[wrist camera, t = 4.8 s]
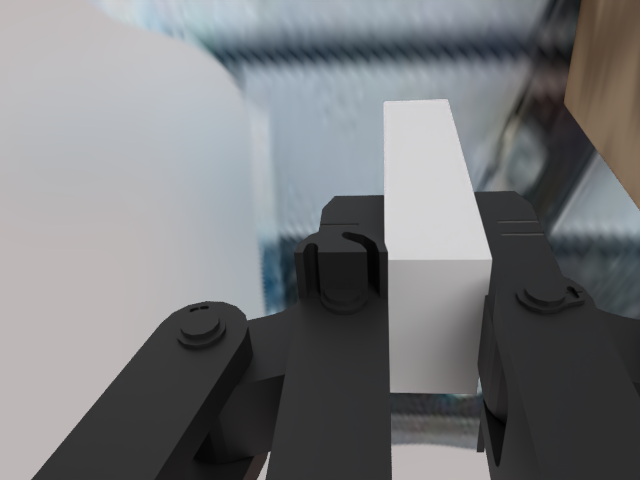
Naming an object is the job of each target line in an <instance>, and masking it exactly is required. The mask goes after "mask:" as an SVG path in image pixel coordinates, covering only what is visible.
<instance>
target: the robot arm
mask: <svg viewBox="0 0 640 480" xmlns="http://www.w3.org/2000/svg"><path fill="white" fill-rule="evenodd" d="M294 256H295V265H296V274H297V283H298V292H299V301H298V302H297V303H296V304H295V305H293V306H292V307H290V308H288V309H286V310H284V311H282V312H279V313H276V314H273V315H270V316H266V317H261V318H257V319H252V320H248V321H247V319H246V315H245V314H244V313H243V312H242V311H241V310H239V308H237V307H236V306H233V305H230V304H228V303H224V302H210V301H206V302H201V303H196V304H192V305H188V306H186V307H184V308H182V309H180V310H178V311H176V312H174V313H172V314H171V315H170V316H169V317H168V318H167V319H166V320H164V321H163V322H162V323H161V324H160V325H159V327H158V328H157V329H156V330H155V331H154V333H153V334H152V335H151V336H150V337H149V339H148V340H147V341H146V342H145V343H144V345H143V346H142V347H141V348H140V349H139V351H138V352H137V353H136V354H135V355H134V357H133V358H132V359H131V361H129V363H128V364H127V365H126V366H125V368H124V369H123V370H122V371H121V372H120V374H119V375H118V376H117V377H116V378H115V380H114V381H113V382H112V383H111V384H110V386H109V387H108V388H107V389H106V390H105V392H104V393H103V394H102V395H101V397H100V398H99V399H98V400H97V401H96V403H95V404H94V405H93V406H92V407H91V409H90V410H89V411H88V412H87V413H86V414H85V416H84V417H83V418H82V419H81V421H80V422H79V423H78V424H77V425H76V427H75V428H74V429H73V430H72V431H71V433H70V434H69V435H68V436H67V438H66V439H65V440H64V441H63V442H62V443H61V445H60V446H59V447H58V448H57V450H56V451H55V452H54V453H53V454H52V455H51V457H50V458H49V459H48V460H47V461H46V463H45V464H44V465H43V466H42V468H41V469H40V470H39V471H38V472H37V474H36V475H35V476H34V477H33V478H32V479H31V480H257V478H258V476H259V474H260V471H261V470H262V468H263V465H264V463H265V461H266V459H267V455H268V452H270V451H271V454H270V459H269V464H268V469H267V475H266V480H392V465H391V463H392V462H391V411H390V392H396V393H442V394H477V387H478V379H479V376H480V382H481V387H482V392H483V402H482V410H481V418H480V426H479V434H478V443H477V452H484V447H485V449H486V455H487V460H488V466H489V472H490V478H491V480H640V320H637V319H632V318H627V317H623V316H619V315H615V314H612V313H608V312H605V311H602V310H600V309H598V308H597V307H596V305H595V303H594V301H593V299H592V298H591V296H590V295H589V294H588V293H587V291H586V290H585V289H584V288H583V287H582V286H580V285H578V284H577V283H575V282H574V281H572V280H570V279H569V278H565V277H563V275H562V273H561V270H560V268H559V266H558V263H557V261H556V259H555V257H554V254H553V252H552V250H551V247H550V245H549V243H548V241H547V238H546V236H545V235H544V231H543V229H542V227H541V225H540V223H538V218H537V215H536V213H535V211H534V209H533V206H532V204H531V203H529V202H528V201H527V200H525V199H524V198H523V197H522V196H520V195H519V194H518V193H516V192H515V191H501V192H473V188H472V185H471V181H470V178H469V174H468V170H467V167H466V163H465V160H464V156H463V152H462V149H461V145H460V142H459V138H458V134H457V131H456V127H455V124H454V120H453V116H452V113H451V109H450V106H449V102H448V99H436V100H407V101H384V195H369V196H334V198H333V199H332V200H331V201H330V202H329V203H328V204H327V205H326V206H325V207H324V208H323V209H322V215H321V221H320V227H319V232H317V233H314V234H311V235H310V236H308V237H307V238H306V239H304V240H303V241H301V242H300V243H299V245H298V247H297V248H296V250H295V252H294Z"/></svg>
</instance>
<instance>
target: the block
mask: <svg viewBox="0 0 640 480" xmlns="http://www.w3.org/2000/svg"><path fill="white" fill-rule="evenodd" d="M564 104H565V106H566V107H567V109H568V110H569V111H570V113H571V114H572V116H573V117H574V118H575V120H576V121H577V123H578V124H579V125H580V127H581V128H582V130H583V131H584V132H585V134H586V135H587V137H588V138H589V140H590V141H591V142H592V144H593V145H594V147H595V148H596V149H597V151H598V152H599V154H600V155H601V156H602V158H603V159H604V161H605V162H606V163H607V165H608V166H609V168H610V169H611V170H612V172H613V173H614V175H615V176H616V178H617V179H618V180H619V182H620V183H621V185H622V186H623V187H624V189H625V190H626V192H627V193H628V194H629V196H630V197H631V199H632V200H633V201H634V203H635V204H636V206H637V207H638V209H639V210H640V0H581V5H580V10H579V16H578V22H577V28H576V34H575V40H574V46H573V51H572V57H571V63H570V69H569V75H568V81H567V87H566V92H565V98H564Z"/></svg>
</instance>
